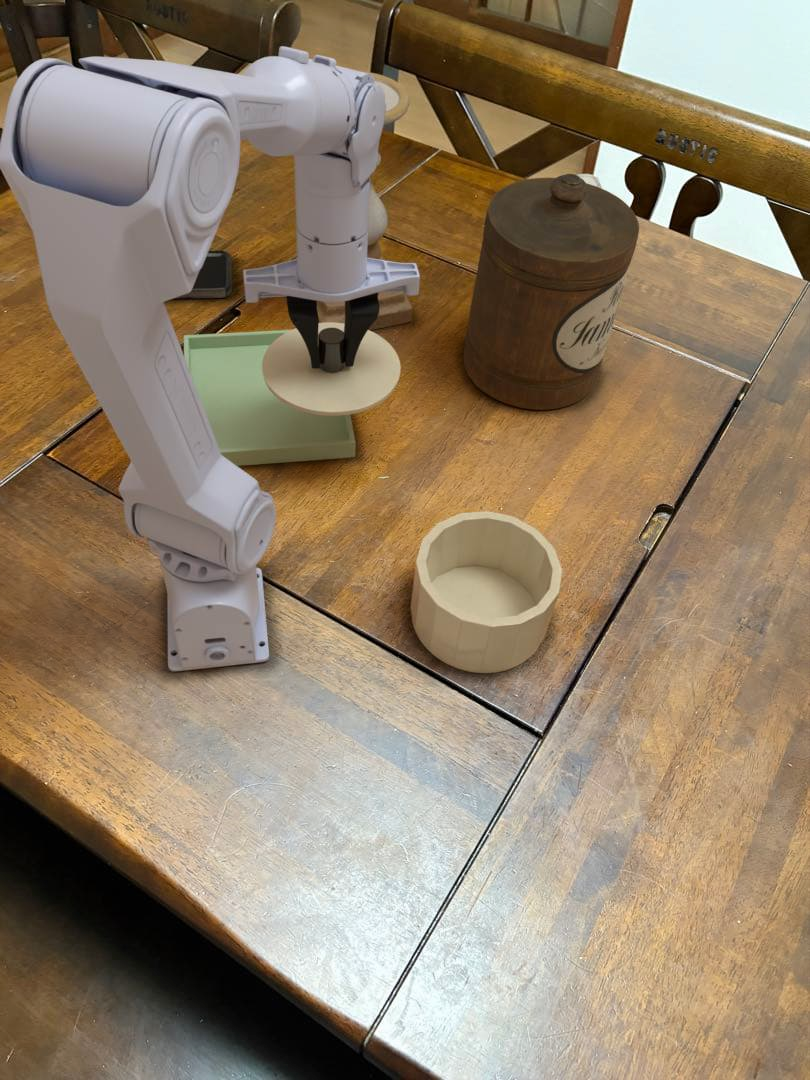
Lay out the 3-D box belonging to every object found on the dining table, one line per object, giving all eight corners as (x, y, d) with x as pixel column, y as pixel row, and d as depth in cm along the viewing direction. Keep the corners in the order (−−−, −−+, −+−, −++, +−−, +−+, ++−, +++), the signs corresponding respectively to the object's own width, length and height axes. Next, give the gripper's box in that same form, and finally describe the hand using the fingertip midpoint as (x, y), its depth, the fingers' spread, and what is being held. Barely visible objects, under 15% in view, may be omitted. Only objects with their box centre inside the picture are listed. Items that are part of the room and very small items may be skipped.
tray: (355, 457, 90) (355, 442, 88) (188, 469, 87) (186, 454, 86) (333, 342, 101) (333, 327, 99) (185, 350, 98) (183, 335, 97)
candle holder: (413, 321, 104) (431, 112, 86) (322, 339, 101) (320, 126, 83) (379, 268, 110) (389, 63, 92) (292, 283, 107) (284, 74, 89)
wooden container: (582, 426, 95) (637, 237, 78) (446, 389, 97) (470, 197, 80) (608, 343, 104) (663, 158, 87) (484, 311, 106) (513, 124, 89)
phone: (100, 252, 107) (230, 250, 109) (102, 260, 108) (231, 258, 110) (94, 292, 102) (230, 289, 104) (96, 301, 103) (231, 298, 105)
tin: (561, 665, 76) (579, 617, 70) (424, 680, 74) (431, 633, 69) (526, 556, 83) (540, 506, 78) (401, 568, 81) (406, 517, 76)
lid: (410, 416, 81) (413, 378, 78) (267, 425, 79) (264, 386, 76) (389, 328, 89) (391, 290, 85) (258, 334, 87) (255, 295, 84)
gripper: (413, 195, 76) (403, 328, 86) (237, 200, 74) (248, 336, 84) (428, 243, 71) (416, 377, 82) (241, 250, 69) (253, 387, 80)
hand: (331, 360), depth 83 cm, fingers closed on lid, 2 cm apart
